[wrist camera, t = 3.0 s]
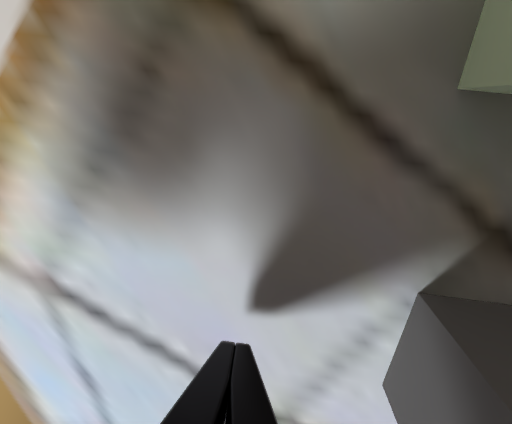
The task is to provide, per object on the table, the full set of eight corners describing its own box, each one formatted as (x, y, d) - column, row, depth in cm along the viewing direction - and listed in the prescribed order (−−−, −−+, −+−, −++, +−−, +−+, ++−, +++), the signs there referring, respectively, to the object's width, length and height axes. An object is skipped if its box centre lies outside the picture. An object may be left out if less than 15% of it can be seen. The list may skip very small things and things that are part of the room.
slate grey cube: (491, 396, 10) (617, 564, 6) (381, 382, 10) (444, 541, 7) (544, 307, 9) (746, 457, 5) (416, 291, 9) (524, 428, 5)
